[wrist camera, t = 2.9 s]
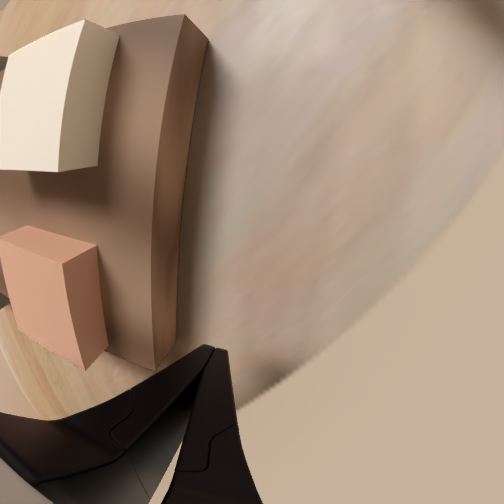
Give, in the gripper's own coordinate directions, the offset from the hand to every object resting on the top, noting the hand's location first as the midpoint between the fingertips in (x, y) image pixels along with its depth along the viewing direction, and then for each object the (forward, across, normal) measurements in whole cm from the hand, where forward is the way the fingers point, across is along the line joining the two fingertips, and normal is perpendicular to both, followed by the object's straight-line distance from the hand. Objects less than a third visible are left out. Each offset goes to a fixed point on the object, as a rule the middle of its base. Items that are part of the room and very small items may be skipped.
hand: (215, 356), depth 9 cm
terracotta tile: (+1, +8, 0) cm, 8 cm away
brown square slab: (+4, +9, -4) cm, 11 cm away
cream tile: (+1, +8, -8) cm, 11 cm away
